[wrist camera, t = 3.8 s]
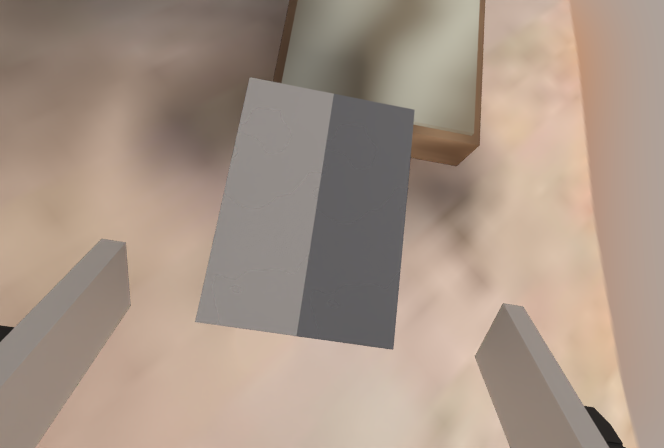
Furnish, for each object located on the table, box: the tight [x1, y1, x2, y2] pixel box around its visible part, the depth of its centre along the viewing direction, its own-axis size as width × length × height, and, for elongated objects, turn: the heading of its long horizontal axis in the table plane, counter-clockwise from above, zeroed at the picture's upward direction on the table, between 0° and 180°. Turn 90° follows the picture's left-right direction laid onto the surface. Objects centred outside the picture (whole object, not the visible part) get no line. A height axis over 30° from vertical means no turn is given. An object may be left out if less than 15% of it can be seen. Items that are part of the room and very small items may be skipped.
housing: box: [195, 77, 415, 350], centre depth 17 cm, size 5×7×12 cm
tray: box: [273, 0, 485, 166], centre depth 25 cm, size 12×14×3 cm
